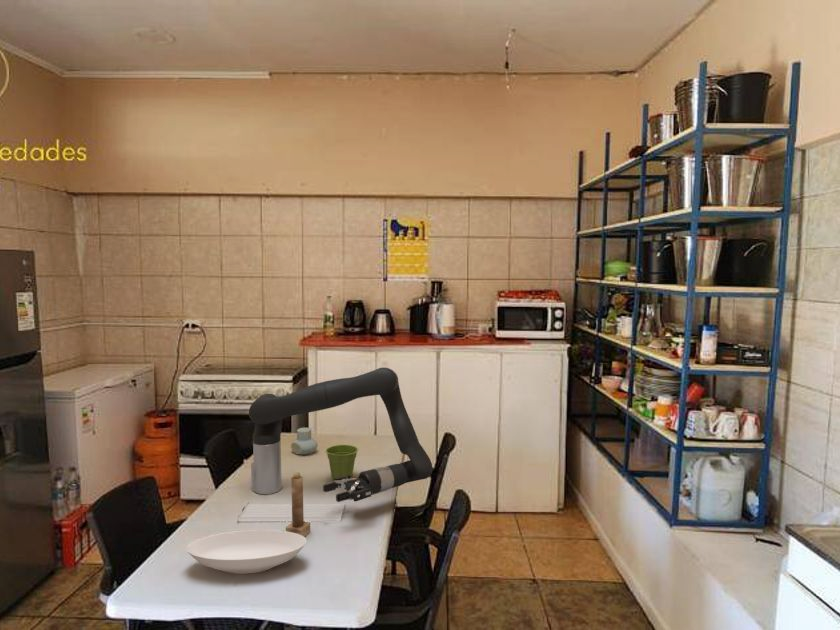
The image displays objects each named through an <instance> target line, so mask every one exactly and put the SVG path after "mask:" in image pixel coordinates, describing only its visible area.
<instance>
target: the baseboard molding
mask: <svg viewBox="0 0 840 630" xmlns="http://www.w3.org/2000/svg"><path fill="white" fill-rule="evenodd" d="M241 509H242V511H241V514H239V515H238V517H237V518H239V519H238V520H237V522H236V523H237V525H238V524H239V523H292V503H289V504H288V503H283V504H282V503H281V504H280V503H279V504H278V503H276V504H274V503H271V504H269V503H267V504H262V503H261V504H260V503H259V504H258V503H257V504H253V503H252V504H251V503H250V504H249V503H248V504H247V506H243V508H241ZM345 509H346V503H303V516H304V521H341V522H342V518H343V516H342V515H343V514H344V512H343V511H345ZM280 521H281V522H280ZM283 521H284V522H283ZM286 521H288V522H286ZM289 521H290V522H289Z"/></svg>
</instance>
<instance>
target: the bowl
mask: <svg viewBox="0 0 840 630" xmlns="http://www.w3.org/2000/svg"><path fill="white" fill-rule="evenodd" d="M306 544H307V539H306V537H303V536H302V535H299V534H296V533H292V532H287V531H285V530H278V529H249V530H247V529H245V530H236V531H228V532H226V531H225V532H222V533H216V534H212V535H208V536H207V535H206V536H204V537H200V538H199V539H195V540H193V541H192V542H190V543H189V544H188V545H187V546H186V551H187V553H188V554H189V555H190V556H191V557H192V558H193V559H194V560H195V561H196V562H198V563H200V564H201V565H203V566H206V567H208V568H210V569H214V570H218V571H222V572H224V573H227V574H236V575H237V574H239V575H242V574H243V575H247V574H256V573H261V572H265V571H268V570H270V569H273V568H274V567H277V566H280V565H281V564H284V563H286V562H288V561H290V560H291V559H293V558H294V557H296V555H298V554H299V553H300V552H301V550H302V549H303V548H304V547H305V546H306Z"/></svg>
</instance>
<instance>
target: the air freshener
mask: <svg viewBox="0 0 840 630" xmlns="http://www.w3.org/2000/svg"><path fill="white" fill-rule="evenodd" d="M318 446H319V445H318V442H317V441H316V439H314V438H312V429H311V427H300V428H298V429H297V430H296V439H294V440H293V441H292V442H291V445H290V448H291V450H292V451H293V453H294V454H297V455H298V456H304V455H305V456H306V455H309V454H310V455H311V454H312V453H314V452H315V451H316V450H317V448H318Z"/></svg>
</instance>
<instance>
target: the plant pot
mask: <svg viewBox="0 0 840 630" xmlns="http://www.w3.org/2000/svg"><path fill="white" fill-rule="evenodd" d="M358 451H359V448H358V447H357V446H356V445H352V444H335V445H334V444H333V445H331V446H329V447H326V448H325V453H326V454H327V459H328V461H329V462H328V463H329V469H330V476H331V480H332V481H333V479H334V478H338V477H342V476H346V475H351V478H353V473H354V468H355V467H354V466H355V461H356V458H357V453H358Z"/></svg>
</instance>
